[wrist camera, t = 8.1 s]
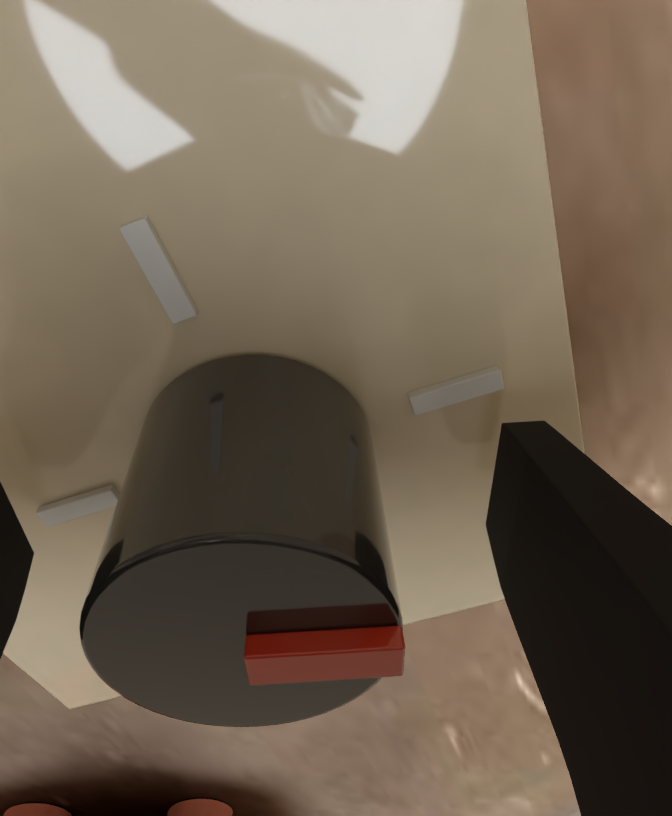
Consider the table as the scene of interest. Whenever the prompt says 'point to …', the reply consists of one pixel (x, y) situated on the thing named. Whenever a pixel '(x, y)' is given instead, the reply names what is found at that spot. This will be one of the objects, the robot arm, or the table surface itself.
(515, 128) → the beige flat block
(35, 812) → the pink rounded body
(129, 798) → the table surface
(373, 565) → the knob
